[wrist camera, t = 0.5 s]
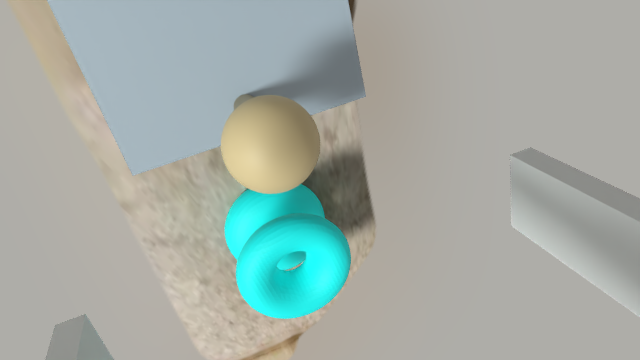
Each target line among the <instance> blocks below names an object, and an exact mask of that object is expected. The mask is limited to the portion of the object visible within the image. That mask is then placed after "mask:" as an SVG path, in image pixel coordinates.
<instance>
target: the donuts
mask: <svg viewBox="0 0 640 360" xmlns="http://www.w3.org/2000/svg"><path fill="white" fill-rule="evenodd" d="M225 238H226V242H227V245H228V248H229V250H230V251H231V253H232V254H233V256H234V257H235V258H236V259H237V260H238V261H237V267H236V280H237V284H238V288H239V290H240V293H241V295H242V296H243V298H244V299H245V301H246V302H247V303H248V304H249V305H250V306H251V307H252V308H253V309H255V310H256V311H258V312H260V313H262V314H264V315H267V316H270V317H274V318H282V319H287V318H296V317H301V316H305V315H308V314H310V313H312V312H314V311H316V310H318V309H320V308H322V307H323V306H325V305H326V304H327V303H329V302H330V301H331V300H332V299H333V298H334V297H335V296H336V295H337V294H338V292H339V291H340V290H341V288H342V287H343V285H344V283H345V281H346V279H347V277H348V274H349V270H350V264H351V254H350V249H349V245H348V242H347V240H346V238H345V236H344V234H343V233H342V232H341V230H340V229H339V228H338V227H337V226H336V225H335V224H333V223H332V222H330V221H329V220H327V219H325V215H324V210H323V207H322V205H321V202H320V201H319V199H318V198H317V196H316V195H315V194H314V193H313V192H312V191H311V190H310V189H309V188H307V187H306V186H304V185H302V184H300V185H299V186H297V187H295V188H293V189H291V190H289V191H286V192H283V193H277V194H264V193H259V192H256V191H253V190H250V189H248V190H246V191H245V192H244V193H242V194H241V195H240V196H239V197H238V198H237V199H236V201H235V202H234V203H233V205H232V206H231V208H230V210H229V212H228V215H227V218H226V223H225ZM304 260H305V261H304ZM303 261H304V262H303ZM302 262H303V263H302ZM300 263H302V264H301V265H300V266H299V267H298V268H296V269H294V270H290V271H284V270H287V269H290V268H293V267H295V266H297V265H298V264H300Z"/></svg>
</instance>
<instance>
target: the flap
mask: <svg viewBox="0 0 640 360" xmlns="http://www.w3.org/2000/svg"><path fill="white" fill-rule="evenodd" d="M47 1H48V3H49V5H50V7H51V9H52V11H53V13H54V16H55V18H56V20H57V22H58V24H59V26H60V28H61V30H62V32H63V34H64V36H65V38H66V40H67V42H68V44H69V46H70V48H71V50H72V52H73V54H74V56H75V58H76V61H77V63H78V65H79V67H80V69H81V71H82V73H83V75H84V77H85V79H86V81H87V83H88V85H89V87H90V89H91V91H92V93H93V95H94V97H95V99H96V101H97V104H98V106H99V108H100V110H101V112H102V114H103V116H104V118H105V120H106V122H107V124H108V126H109V128H110V130H111V132H112V134H113V136H114V138H115V140H116V142H117V144H118V147H119V149H120V151H121V153H122V155H123V157H124V159H125V161H126V163H127V165H128V167H129V169H130V171H131V173H132V175H136V174H139V173H142V172H145V171H148V170H151V169H154V168H157V167H160V166H163V165H166V164H169V163H172V162H175V161H178V160H180V159H183V158H186V157H189V156H192V155H195V154H198V153H201V152H204V151H207V150H210V149H213V148H216V147H219V146H221V152H222V157H223V160H224V163H225V165H226V167H227V169H228V170H229V172H230V174H231V175H232V176H233V177H234V178H235V179H236V180H237V181H238V182H239V183H240V184H242V185H243V186H245V187H246V188H248V189H250V190H253V191H256V192H259V193H264V194H277V193H283V192H286V191H289V190H291V189H293V188H295V187H297V186H299V185H300V184H301V183H303V182H304V181H305V180H306V179H307V178H308V176H309V175H310V174H311V172H312V171H313V169H314V167H315V165H316V163H317V160H318V157H319V153H320V137H319V132H318V129H317V126H316V124H315V122H314V120H313V118H312V117H311V116H310V115H313V114H316V113H319V112H322V111H325V110H328V109H331V108H334V107H337V106H340V105H342V104H345V103H348V102H351V101H354V100H357V99H360V98H363V97H366V95H365V89H364V84H363V78H362V73H361V67H360V62H359V57H358V51H357V46H356V40H355V35H354V30H353V24H352V19H351V14H350V8H349V3H348V0H47Z"/></svg>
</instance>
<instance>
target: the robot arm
mask: <svg viewBox="0 0 640 360" xmlns="http://www.w3.org/2000/svg"><path fill="white" fill-rule="evenodd" d="M510 175H511V176H510V177H511V226H512V227H514V228H515V229H516V230H518V231H520V232H521V233H522V234H523V235H525V236H526V237H528V238H529V239H530V240H532V241H533V242H535V243H536V244H537V245H539V246H540V247H542V248H543V249H544V250H546V251H547V252H549V253H550V254H552V255H553V256H554V257H556V258H557V259H558V260H560V261H561V262H563V263H564V264H565V265H567V266H568V267H570V268H571V269H573V270H574V271H575V272H577V273H578V274H580V275H581V276H582V277H584V278H585V279H587V280H588V281H589V282H591V283H592V284H594V285H595V286H597V287H598V288H599V289H601V290H602V291H603V292H605V293H606V294H608V295H609V296H611V297H612V298H613V299H615V300H616V301H617V302H619V303H620V304H622V305H623V306H625V307H626V308H627V309H629V310H630V311H631V312H633V313H634V314H636V315H637V316H638V317H640V199H639V198H637V197H635V196H633V195H631V194H629V193H627V192H625V191H623V190H620V189H618V188H616V187H614V186H612V185H610V184H608V183H605V182H603V181H601V180H599V179H597V178H595V177H593V176H591V175H588V174H586V173H584V172H582V171H580V170H578V169H576V168H573V167H571V166H569V165H567V164H565V163H563V162H561V161H558V160H556V159H554V158H552V157H550V156H548V155H545V154H544V153H541V152H539V151H537V150H535V149H533V148H528V149H525V150H523V151H520V152H517V153H514V154H512V155H510ZM46 360H114V359H113V357H112V356H111V355H110V353H109V351H108V349H107V348H106V346H105V345H104V343H103V341H102V340H101V338H100V337H99V335H98V333H97V332H96V330H95V328H94V327H93V325H92V324H91V322H90V321H89V319H88V318H87V316H86V314H84V315H81V316H79V317H76V318H73V319H70V320H68V321H65V322H62V323H60V324H57V325H55V328H54V331H53V335H52V338H51V342H50V346H49V349H48V353H47V356H46Z"/></svg>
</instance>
